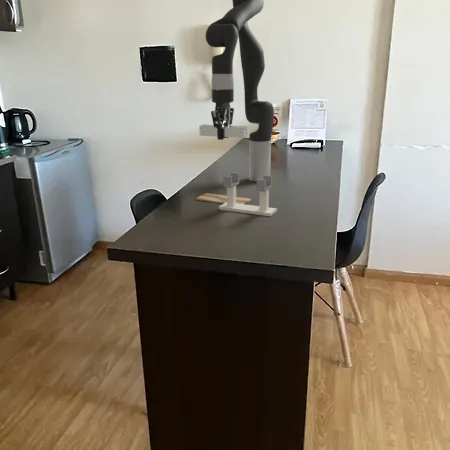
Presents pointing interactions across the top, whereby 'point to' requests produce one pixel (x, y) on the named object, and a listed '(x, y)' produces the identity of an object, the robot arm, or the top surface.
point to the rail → (228, 131)
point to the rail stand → (231, 204)
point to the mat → (221, 199)
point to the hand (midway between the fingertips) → (223, 138)
